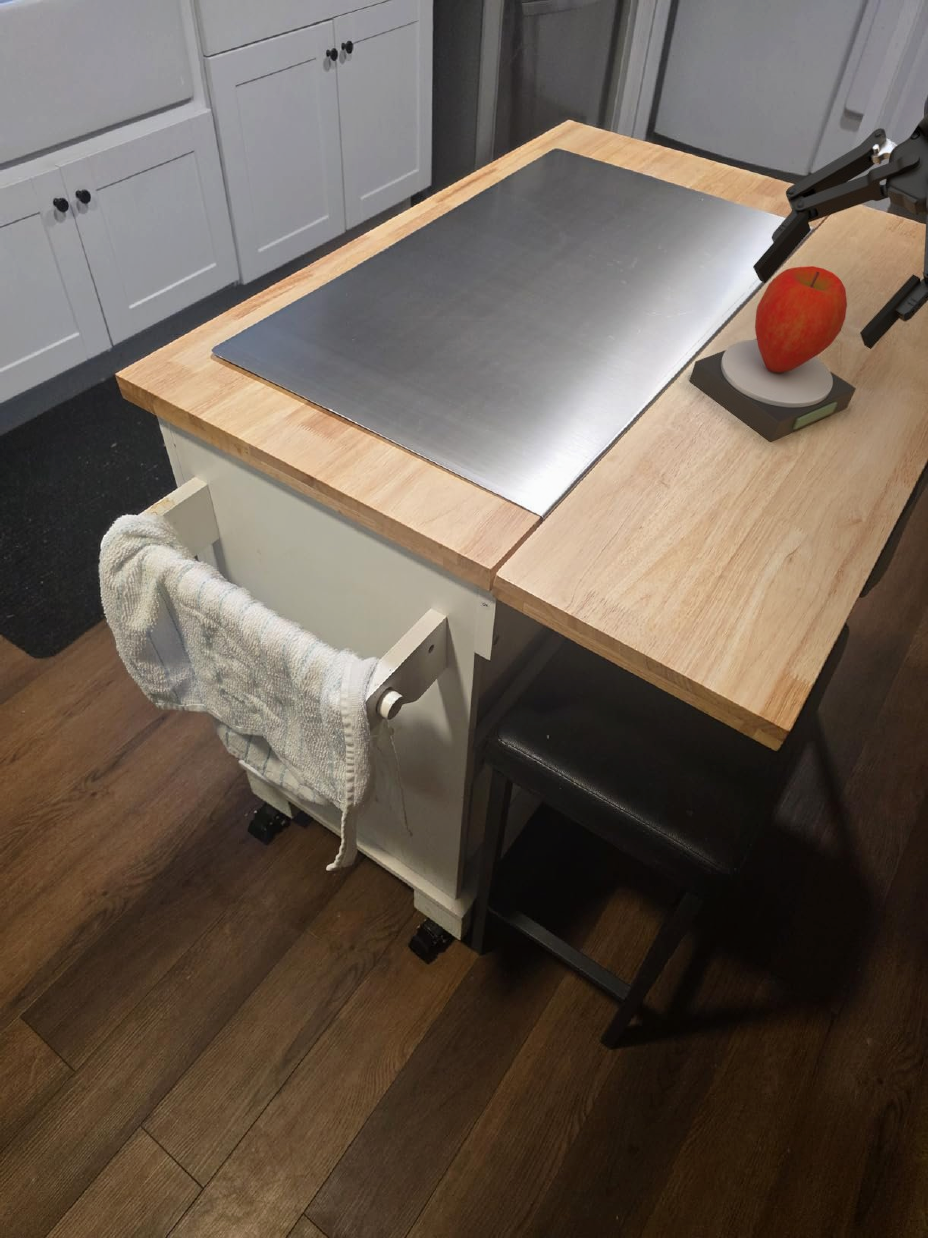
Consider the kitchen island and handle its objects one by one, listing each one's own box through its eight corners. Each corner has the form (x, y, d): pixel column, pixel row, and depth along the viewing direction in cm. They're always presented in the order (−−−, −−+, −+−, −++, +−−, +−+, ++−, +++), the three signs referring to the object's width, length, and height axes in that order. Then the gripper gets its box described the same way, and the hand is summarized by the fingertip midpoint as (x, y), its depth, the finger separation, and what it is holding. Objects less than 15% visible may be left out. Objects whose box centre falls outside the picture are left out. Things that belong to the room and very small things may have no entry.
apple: (796, 404, 88) (839, 305, 80) (722, 369, 91) (756, 270, 83) (831, 369, 92) (875, 272, 84) (760, 337, 96) (795, 241, 87)
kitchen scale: (848, 409, 93) (860, 384, 91) (772, 443, 88) (782, 418, 86) (764, 351, 100) (773, 327, 97) (688, 381, 95) (696, 356, 92)
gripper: (1102, 195, 77) (919, 388, 82) (875, 96, 89) (729, 268, 95) (1109, 141, 71) (910, 353, 76) (864, 43, 83) (708, 230, 88)
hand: (809, 306), depth 85 cm, fingers open, 13 cm apart
